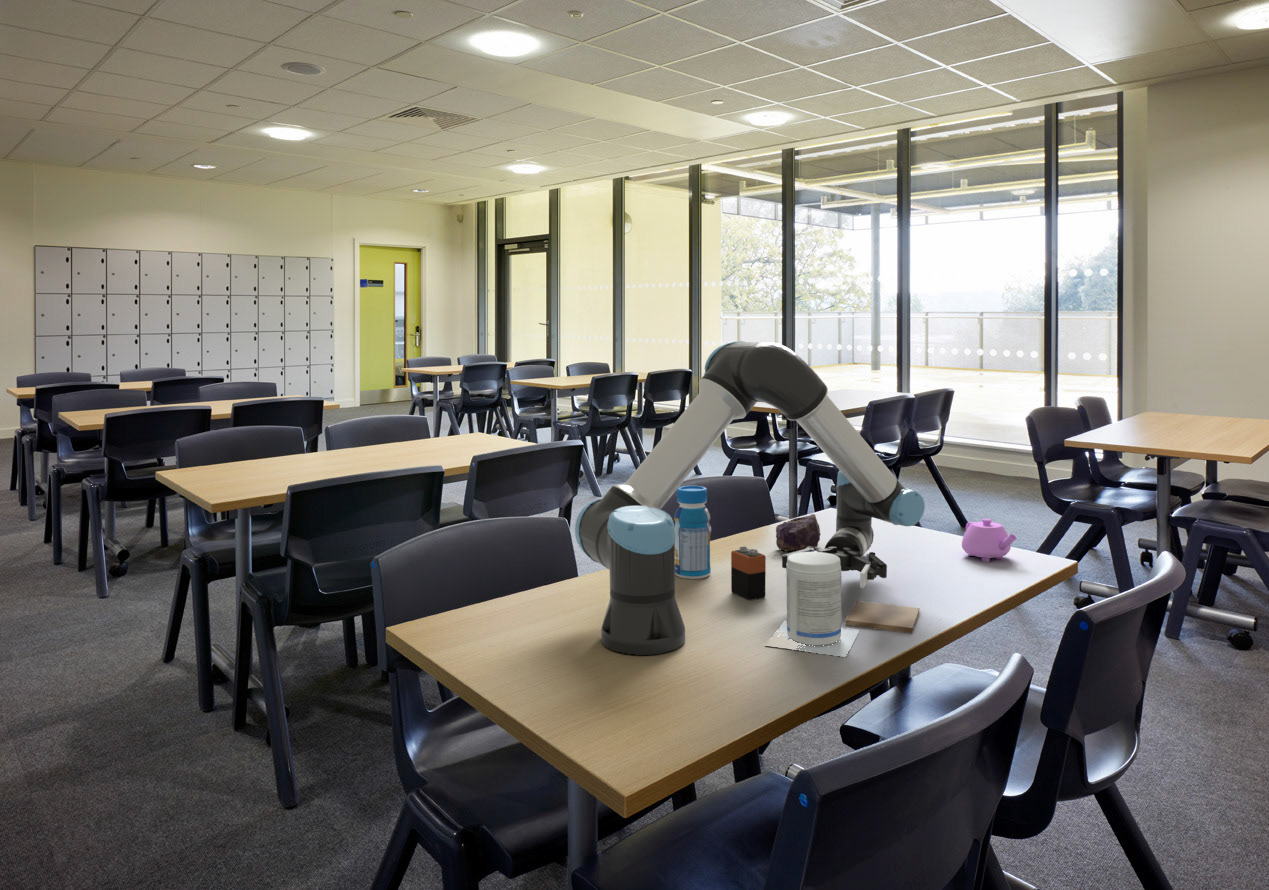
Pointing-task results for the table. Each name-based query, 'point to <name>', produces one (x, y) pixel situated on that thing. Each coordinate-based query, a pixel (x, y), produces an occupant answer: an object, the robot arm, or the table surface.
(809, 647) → the label card
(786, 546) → the rock
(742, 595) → the battery
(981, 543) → the teapot
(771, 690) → the table surface
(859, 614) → the walnut square
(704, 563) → the beverage bottle
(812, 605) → the supplement tub
